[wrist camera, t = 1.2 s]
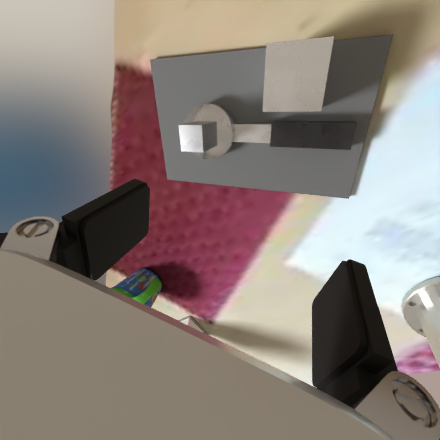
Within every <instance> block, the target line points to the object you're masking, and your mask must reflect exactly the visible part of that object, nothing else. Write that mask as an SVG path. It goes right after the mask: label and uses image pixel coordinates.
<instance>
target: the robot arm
mask: <svg viewBox="0 0 440 440" xmlns="http://www.w3.org/2000/svg"><path fill="white" fill-rule="evenodd" d="M149 199H150V188H149V187H148V186H147V183H145V182H142V181H140V180H137V179H133V180H131V181H129V182H127V183H125V184H123V185H122V186H120V187H118V188H116V189H114V190H112V191H110V192H108V193H106V194H104V195H102V196H100V197H99V198H97V199H95V200H93V201H91V202H89V203H87V204H85V205H83V206H81V207H79V208H78V209H76V210H73V211H72V212H70V213H68V214H66V215H64V216H62V220H63V221H62V222H60V223H58V222H57V221H56V220H54V219H53V218H49V217H32V218H28V219H24V220H22V221H20V222H18V223H16V224H15V225H14V226H13V227H12V228H11V229H10V231H9V233H0V440H440V409H439V406H438V405H437V403H436V402H435V400H434V399H433V398H432V396H431V395H430V393H428V391H427V390H426V389H425V388H424V387H423V386H422V385H421V384H420V383H419V382H417V381H416V380H415V379H414V378H412V377H410V376H409V375H407V374H405V373H402V372H399V371H398V370H397V367H396V363H395V360H394V357H393V353H392V350H391V347H390V344H389V340H388V337H387V334H386V330H385V327H384V324H383V321H382V317H381V314H380V311H379V308H378V306H377V302H376V299H375V296H374V292H373V289H372V286H371V283H370V279H369V276H368V273H367V269H366V266H365V265H364V264H361V263H358V262H356V261H353V260H348V261H347V262H346V261H342V262H341V263H340V265H339V266H338V267H337V269H336V270H335V271H334V273H333V274H332V276H331V277H330V278H329V280H328V281H327V282H326V284H325V285H324V286H323V288H322V289H321V291H320V292H319V293H318V295H317V296H316V297H315V299H314V301H313V304H312V382H313V385H314V386H315V387H317V389H316V388H315V387H313V386H311V385H309V384H307V383H305V382H303V381H301V380H299V379H297V378H295V377H293V376H291V375H289V374H287V373H285V372H283V371H281V370H279V369H277V368H275V367H273V366H271V365H269V364H267V363H265V362H262V361H260V360H258V359H256V358H254V357H252V356H250V355H248V354H246V353H244V352H242V351H240V350H238V349H236V348H234V347H232V346H230V345H228V344H225V343H223V342H221V341H219V340H217V339H215V338H213V337H211V336H209V335H207V334H205V333H203V332H201V331H199V330H196V329H194V328H192V327H190V326H188V325H186V324H184V323H182V322H180V321H178V320H176V319H174V318H172V317H169V316H167V315H165V314H163V313H161V312H159V311H157V310H155V309H153V308H151V307H149V306H146V305H144V304H142V303H140V302H138V301H136V300H134V299H132V298H130V297H127V296H125V295H123V294H121V293H119V292H117V291H115V290H113V289H111V288H108V287H106V286H104V285H102V284H100V283H98V282H96V281H94V280H97V279H98V278H100V277H101V276H102V275H103V274H104V273H105V272H106V271H107V270H109V269H110V268H111V267H112V266H113V265H114V264H115V263H116V262H117V261H119V260H120V259H121V258H122V257H123V256H124V255H125V254H126V253H127V252H129V251H130V250H131V249H132V248H133V247H134V246H135V245H136V244H137V243H139V242H140V241H141V240H142V239H143V238H144V237H145V236H146V235H147V233H148V228H149ZM401 306H402V313H403V316H404V318H405V320H406V322H407V324H408V325H409V326H410V327H411V328H412V329H413V330H415V331H416V332H417V333H419V334H421V335H422V336H424V337H426V338H427V340H428V343H429V345H430V347H431V349H432V352H433V354H434V356H435V358H436V361H437V363H438V365H439V367H440V277H436V278H432V279H429V280H426V281H424V282H422V283H419V284H418V285H416V286H415V287H413V288H412V289H411V290H410V291H409V292H408V293H407V294H406V295H405V297H404V298H403V301H402V305H401Z"/></svg>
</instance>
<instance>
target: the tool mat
mask: <svg viewBox="0 0 440 440" xmlns="http://www.w3.org/2000/svg"><path fill="white" fill-rule="evenodd" d="M392 36H393V35H383V36H373V37H364V38H354V39H344V40H335V41H333V46H332V52H331V57H330V63H329V69H328V75H327V81H326V87H325V93H324V99H323V104H322V110H321V111H309V112H262V111H263V94H264V76H265V58H266V48H257V49H247V50H238V51H228V52H218V53H209V54H199V55H189V56H180V57H170V58H160V59H151V60H150V62H151V69H152V76H153V83H154V90H155V97H156V103H157V110H158V117H159V124H160V131H161V138H162V145H163V152H164V158H165V165H166V172H167V179H169V180H178V181H188V182H197V183H207V184H216V185H225V186H235V187H244V188H254V189H263V190H273V191H282V192H292V193H301V194H311V195H320V196H329V197H339V198H348V199H349V196H350V192H351V189H352V185H353V181H354V177H355V174H356V170H357V166H358V163H359V159H360V155H361V151H362V148H363V144H364V140H365V137H366V133H367V129H368V125H369V122H370V118H371V114H372V111H373V107H374V103H375V99H376V96H377V92H378V88H379V84H380V81H381V77H382V73H383V70H384V66H385V62H386V58H387V55H388V51H389V47H390V44H391V40H392ZM212 103H213V104H219V105H222V106H224V107H225V108H226V109H228V110H229V111H230V113H231V114H232V115H233V117H234V119H235V122H236V123H272V122H273V121H355V122H357V126H356V130H355V134H354V138H353V142H352V146H351V150H338V149H314V148H290V147H270V143H249V142H235V143H234V145H233V147H232V148H231V149H230V150H229V151H228V152H227V153H225V154H224V155H222V156H220V157H219V158H216V159H212V160H207V159H202V158H200V157H198V156H197V155H195V154H194V153H193V152H186V151H181V144H180V135H179V125H180V124H184V122H185V119H186V117H187V115H188V113H189V112H190V111H191V110H192V109H193V108H194V107H196V106H198V105H202V104H212Z"/></svg>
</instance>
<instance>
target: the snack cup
mask: <svg viewBox="0 0 440 440" xmlns="http://www.w3.org/2000/svg"><path fill="white" fill-rule="evenodd" d="M161 288H162V284H161V282H160V279H159V278H158V276H157V275H156V274H154V273H153V272H152V271H150V270H147V269H145V268H143V269H139V270H138V271H136V272H134V273H133V274H132V275H130V276H129V277H127V278H126V279H124V280H123V281H121V282H120V283H119V284H117V285H116V286H114V287H112V288H111V289H113V290H115V291H117V292H119V293H121V294H123V295H125V296H127V297H130V298H132V299H134V300H136V301H138V302H140V303H142V304H144V305H146V306H149V307H152V305H153V303H154V301H155V300H156V298H157V296H158V294H159V293H160V290H161Z"/></svg>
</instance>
